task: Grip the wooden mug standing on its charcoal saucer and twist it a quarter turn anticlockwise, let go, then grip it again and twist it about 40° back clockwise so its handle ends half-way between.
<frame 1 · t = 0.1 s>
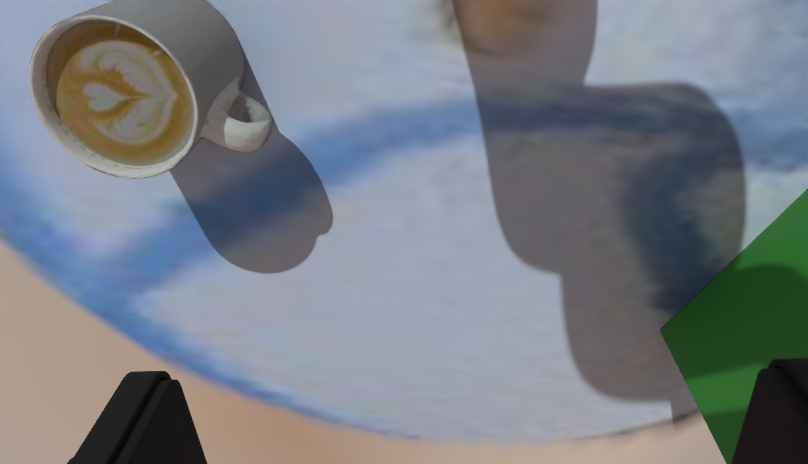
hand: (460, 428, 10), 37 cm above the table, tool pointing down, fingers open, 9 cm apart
coffee mug: (198, 73, 45), on the table
hardback book: (764, 278, 52), on the table
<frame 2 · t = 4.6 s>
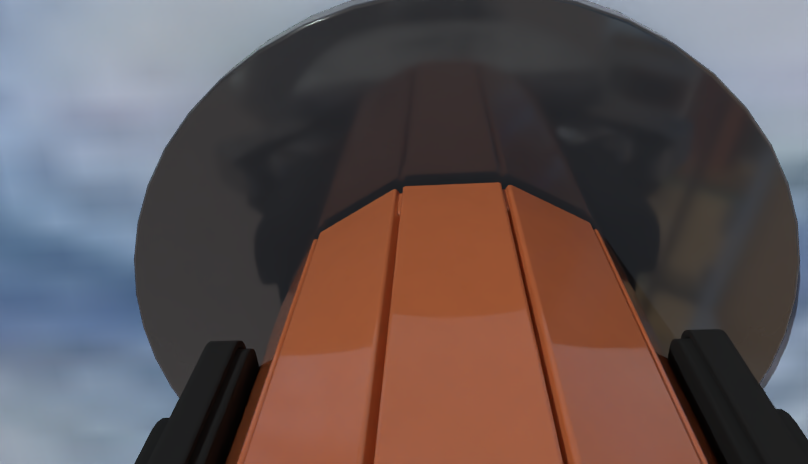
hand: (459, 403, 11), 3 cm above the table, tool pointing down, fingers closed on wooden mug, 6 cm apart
saucer: (455, 307, 13), on the table
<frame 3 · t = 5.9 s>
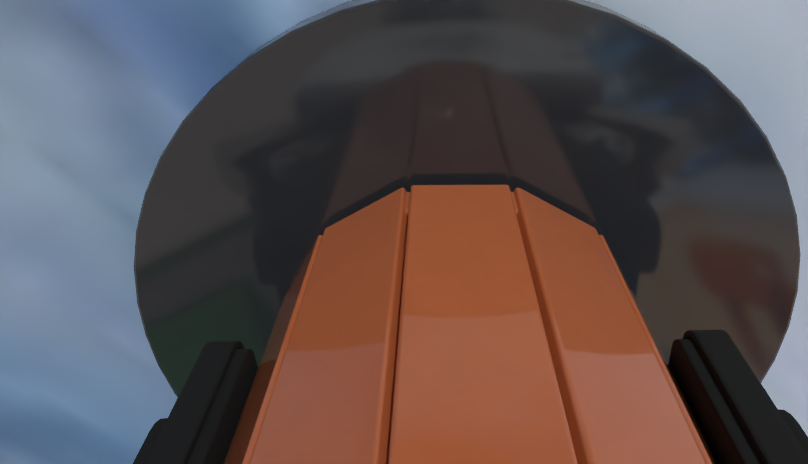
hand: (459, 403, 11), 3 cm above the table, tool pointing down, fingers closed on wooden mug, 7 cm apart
saucer: (455, 307, 13), on the table
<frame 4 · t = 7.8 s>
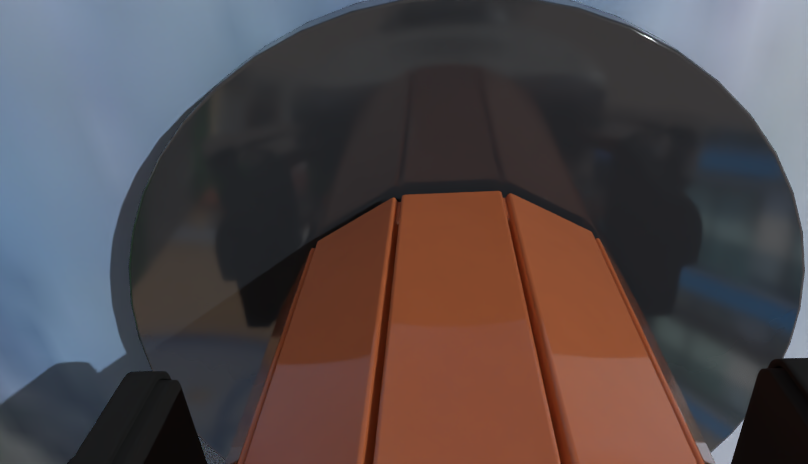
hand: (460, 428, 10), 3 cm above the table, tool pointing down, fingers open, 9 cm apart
saucer: (454, 315, 13), on the table
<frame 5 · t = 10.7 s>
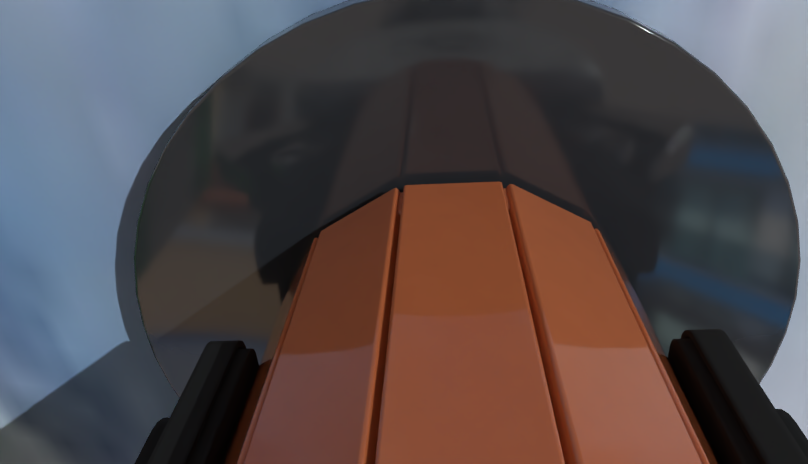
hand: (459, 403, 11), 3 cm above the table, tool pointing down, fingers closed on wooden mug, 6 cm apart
saucer: (455, 306, 13), on the table
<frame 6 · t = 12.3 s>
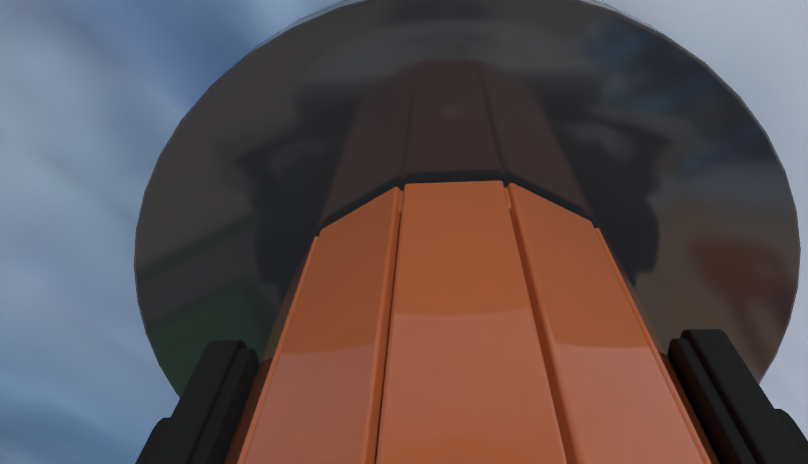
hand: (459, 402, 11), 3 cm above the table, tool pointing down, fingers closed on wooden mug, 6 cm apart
saucer: (455, 305, 13), on the table
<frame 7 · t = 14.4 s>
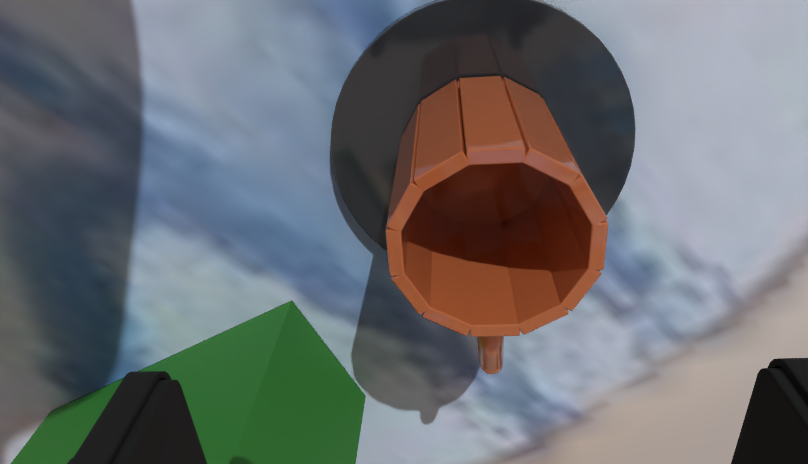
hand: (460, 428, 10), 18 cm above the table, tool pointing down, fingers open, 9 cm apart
wooden mug: (486, 230, 23), point 5 cm above the table, hinge at 50.2°
hardback book: (205, 401, 35), on the table
saucer: (479, 147, 27), on the table
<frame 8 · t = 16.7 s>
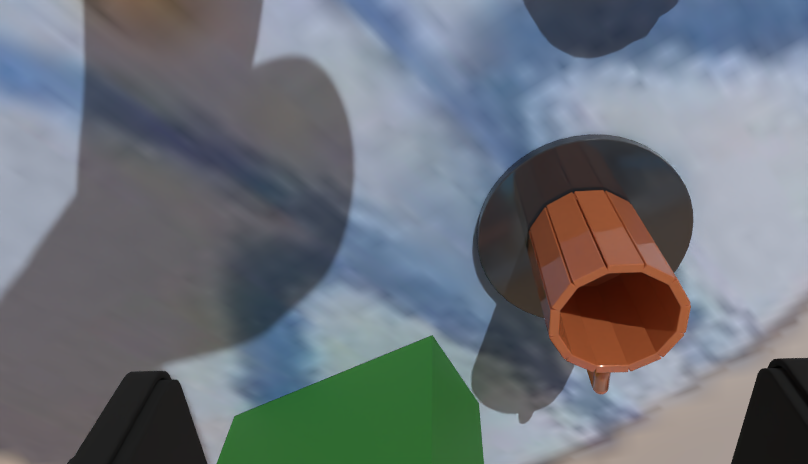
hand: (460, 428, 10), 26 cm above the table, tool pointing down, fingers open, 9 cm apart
wooden mug: (597, 298, 34), point 5 cm above the table, hinge at 50.2°
hardback book: (354, 408, 47), on the table
saucer: (580, 232, 38), on the table
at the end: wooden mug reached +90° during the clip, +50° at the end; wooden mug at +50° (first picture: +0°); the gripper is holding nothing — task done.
